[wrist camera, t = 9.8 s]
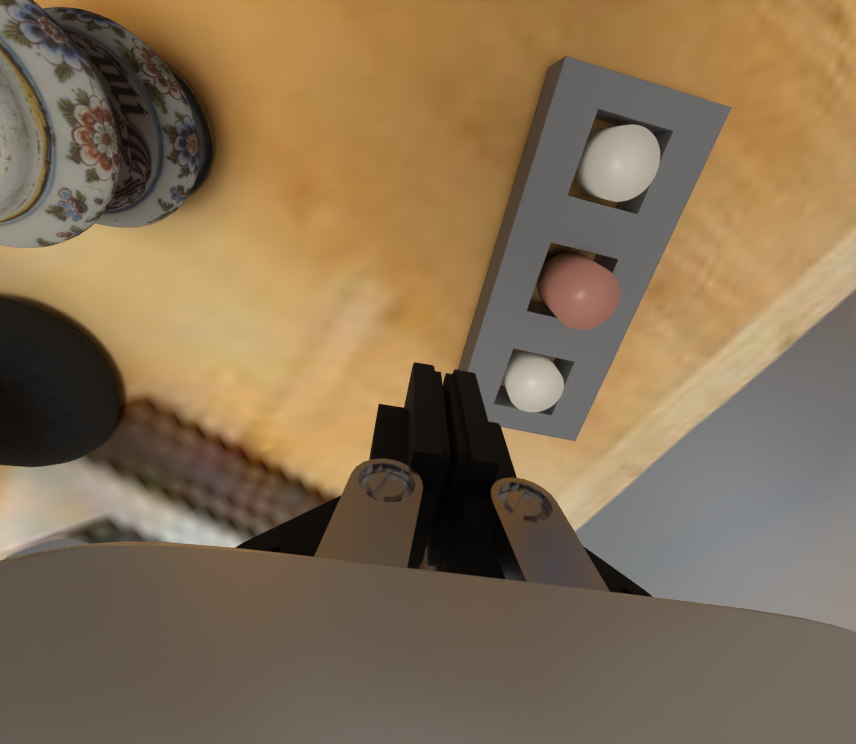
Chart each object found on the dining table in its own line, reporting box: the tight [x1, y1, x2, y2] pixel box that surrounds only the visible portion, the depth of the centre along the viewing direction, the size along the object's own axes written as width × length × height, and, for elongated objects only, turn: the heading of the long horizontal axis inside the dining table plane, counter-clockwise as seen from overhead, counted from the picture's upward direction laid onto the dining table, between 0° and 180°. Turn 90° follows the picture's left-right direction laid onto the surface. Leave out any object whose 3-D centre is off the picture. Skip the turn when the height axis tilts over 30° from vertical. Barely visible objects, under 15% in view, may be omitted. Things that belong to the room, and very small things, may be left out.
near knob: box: [572, 124, 660, 202], centre depth 32 cm, size 5×5×5 cm
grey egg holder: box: [458, 56, 731, 441], centre depth 37 cm, size 28×12×4 cm, turn 166°
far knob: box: [502, 348, 564, 412], centre depth 40 cm, size 5×5×5 cm
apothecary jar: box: [0, 0, 215, 248], centre depth 25 cm, size 12×12×18 cm
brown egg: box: [537, 252, 620, 330], centre depth 34 cm, size 5×5×5 cm
